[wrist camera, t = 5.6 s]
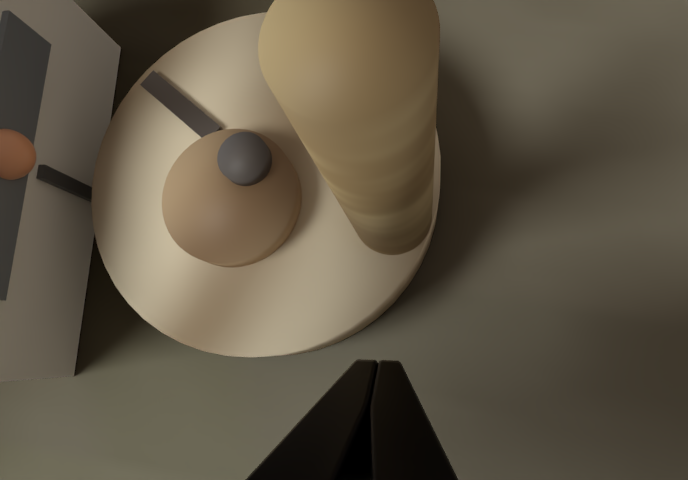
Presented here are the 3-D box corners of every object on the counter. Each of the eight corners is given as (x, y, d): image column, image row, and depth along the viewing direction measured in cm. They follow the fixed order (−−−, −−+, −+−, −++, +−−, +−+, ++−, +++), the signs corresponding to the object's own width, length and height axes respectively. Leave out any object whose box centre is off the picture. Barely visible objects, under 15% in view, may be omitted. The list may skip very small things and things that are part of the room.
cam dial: (83, 286, 19) (-395, 198, 8) (208, 23, 21) (-43, -349, 10) (368, 411, 16) (244, 544, 5) (484, 96, 18) (576, -306, 7)
